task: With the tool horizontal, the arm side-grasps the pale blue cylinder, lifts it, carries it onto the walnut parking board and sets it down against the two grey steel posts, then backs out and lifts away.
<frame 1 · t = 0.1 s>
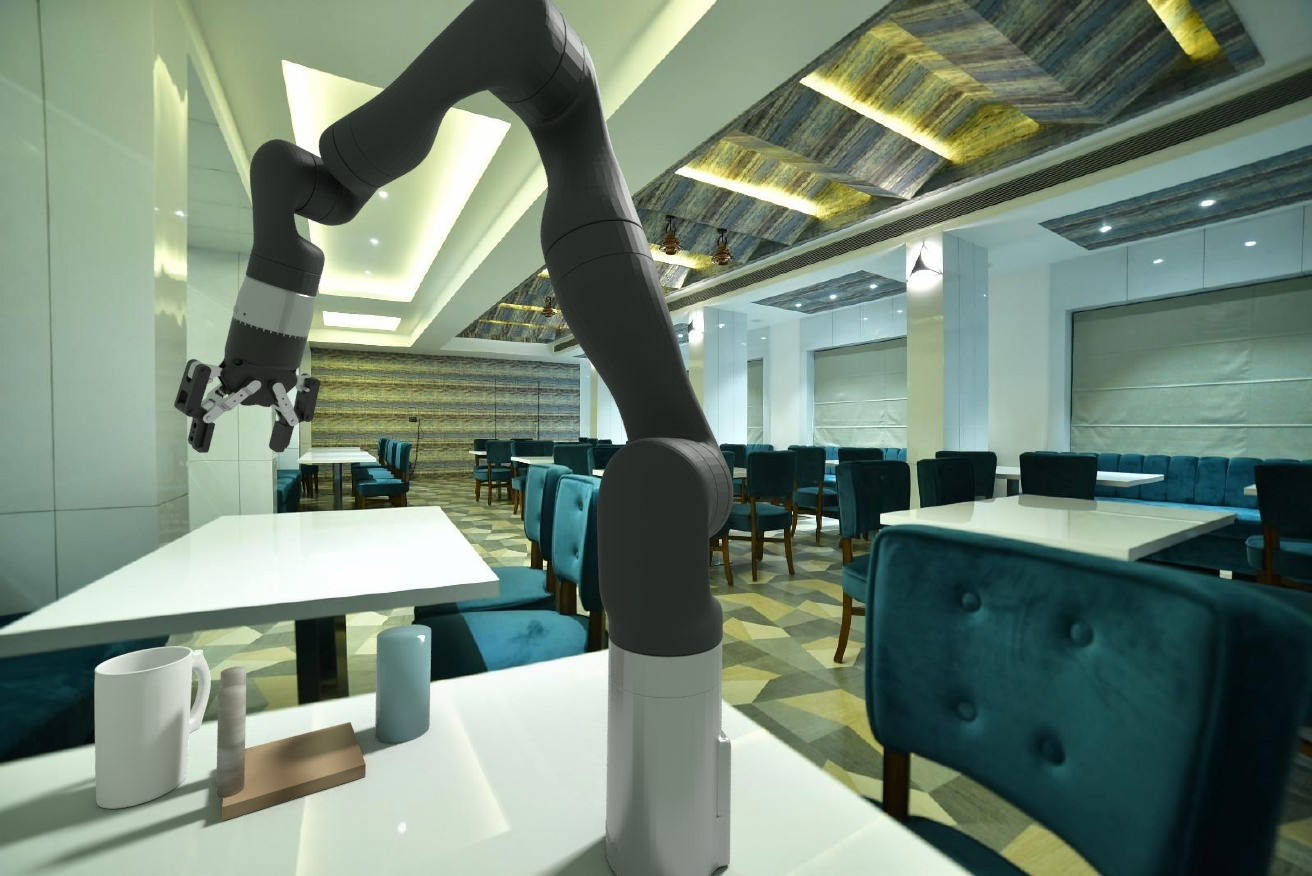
hand: (240, 450, 68), 31 cm above the table, tool tilted 20°, fingers open, 8 cm apart
pale blue cylinder: (402, 730, 63), on the table
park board: (294, 771, 55), on the table
mug: (160, 779, 53), on the table
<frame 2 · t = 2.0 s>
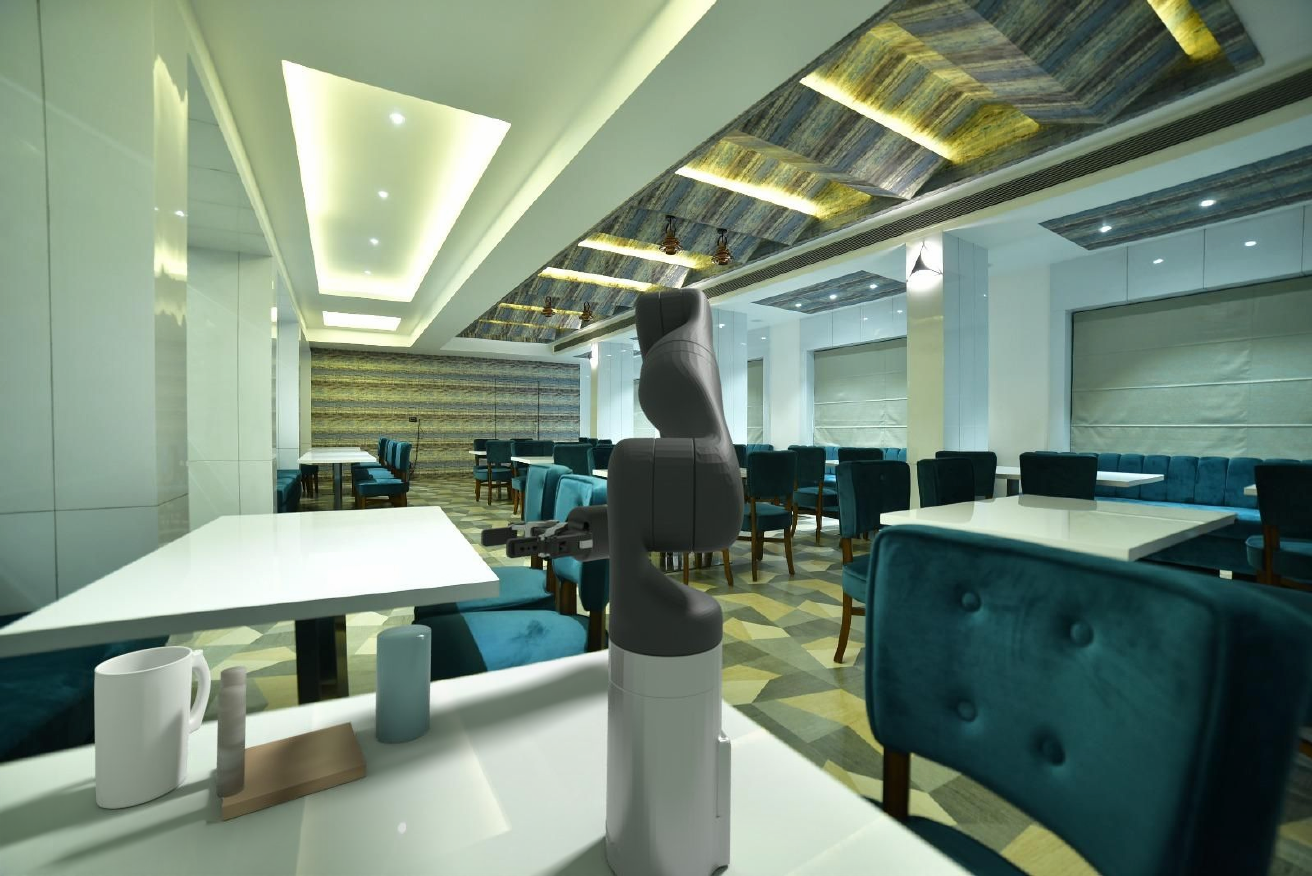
hand: (494, 543, 69), 20 cm above the table, tool horizontal, fingers open, 8 cm apart
nothing on the table moved.
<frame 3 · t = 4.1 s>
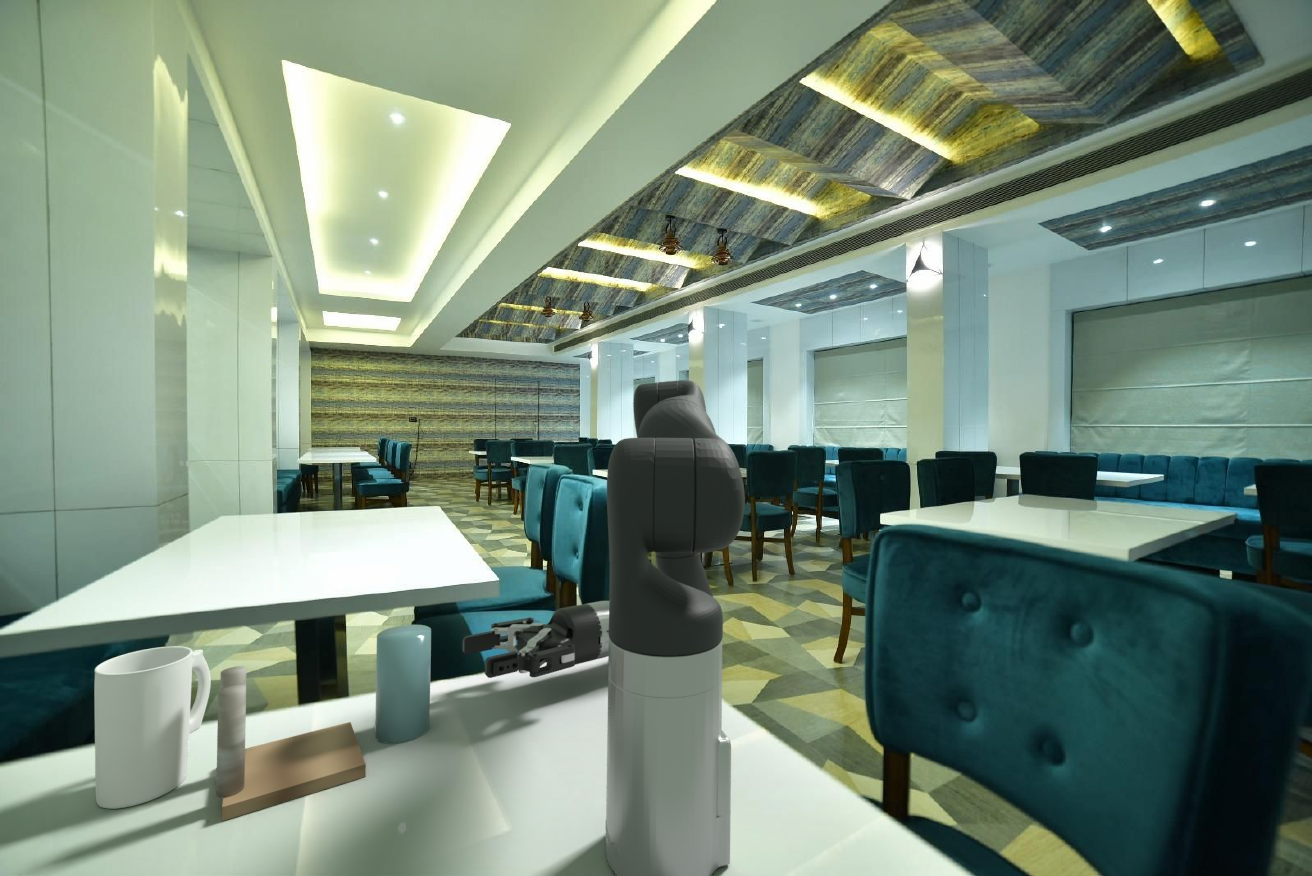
hand: (474, 656, 68), 7 cm above the table, tool horizontal, fingers open, 8 cm apart
nothing on the table moved.
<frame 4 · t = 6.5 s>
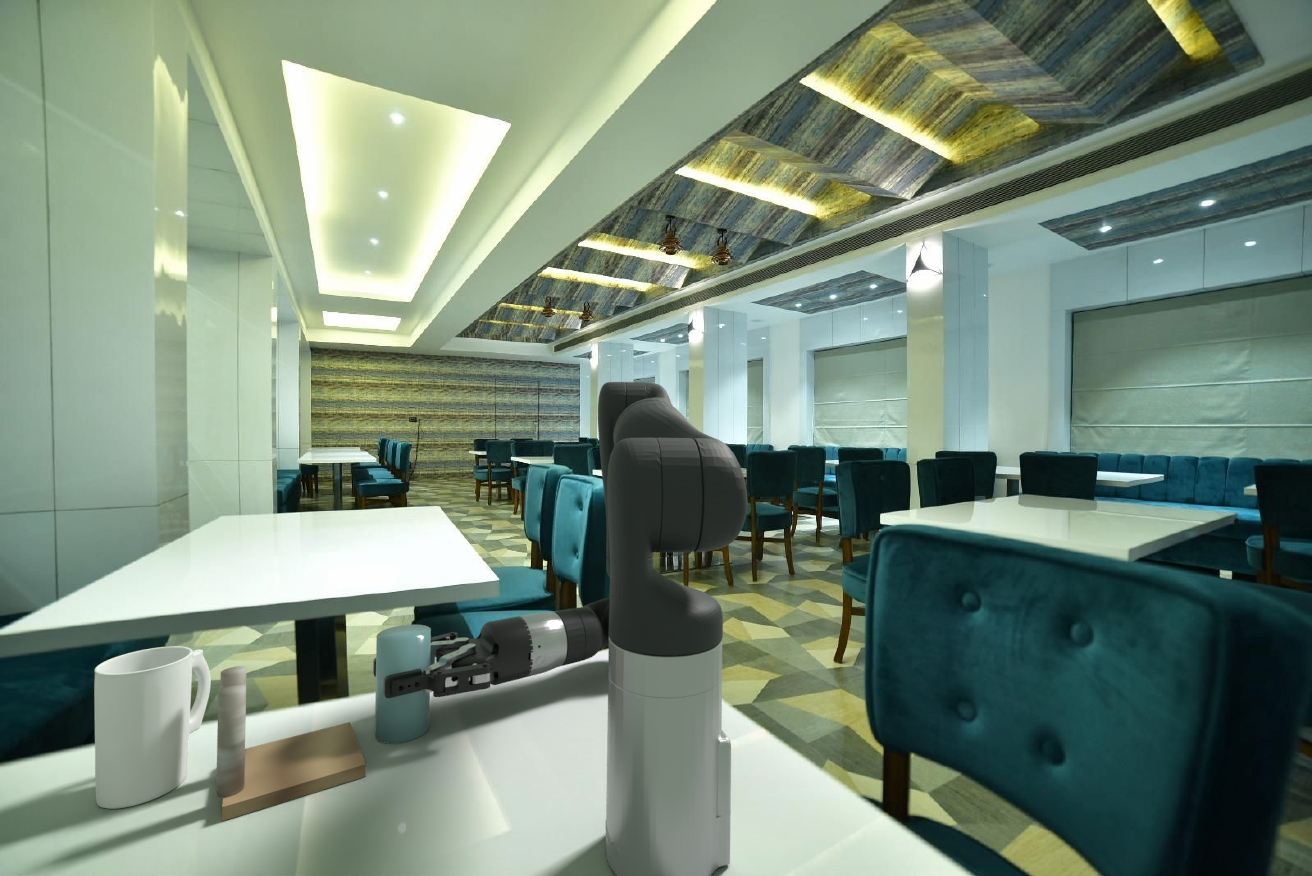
hand: (379, 677, 61), 7 cm above the table, tool horizontal, fingers closed on pale blue cylinder, 5 cm apart
pale blue cylinder: (402, 730, 63), on the table, touching gripper
everything else where it was.
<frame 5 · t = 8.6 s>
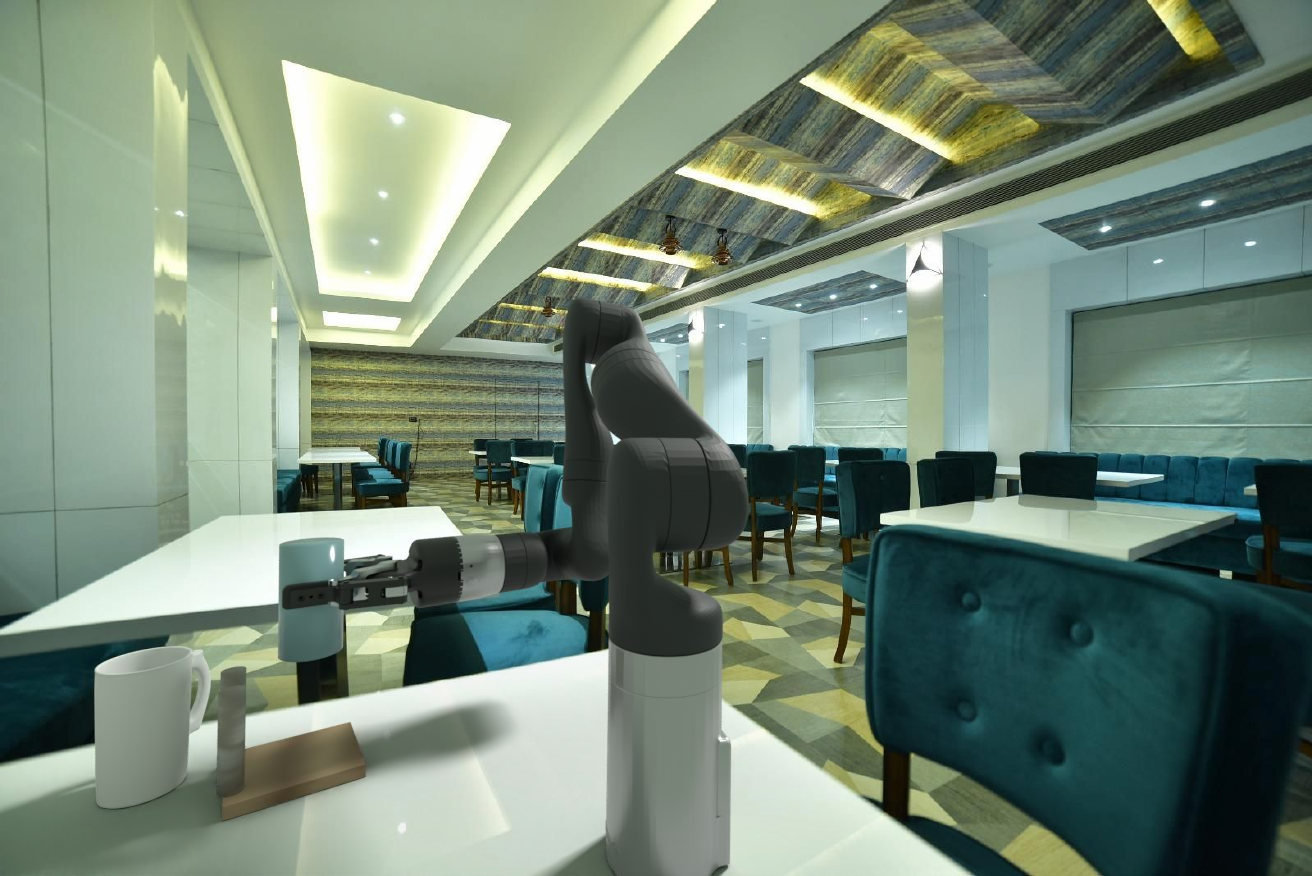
hand: (282, 590, 55), 18 cm above the table, tool horizontal, fingers closed on pale blue cylinder, 5 cm apart
pale blue cylinder: (311, 651, 56), point 11 cm above the table, touching gripper
everything else where it was.
when the fingers open (9 cm above the table, at t = 10.9 s): pale blue cylinder drops 1 cm, resting on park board.
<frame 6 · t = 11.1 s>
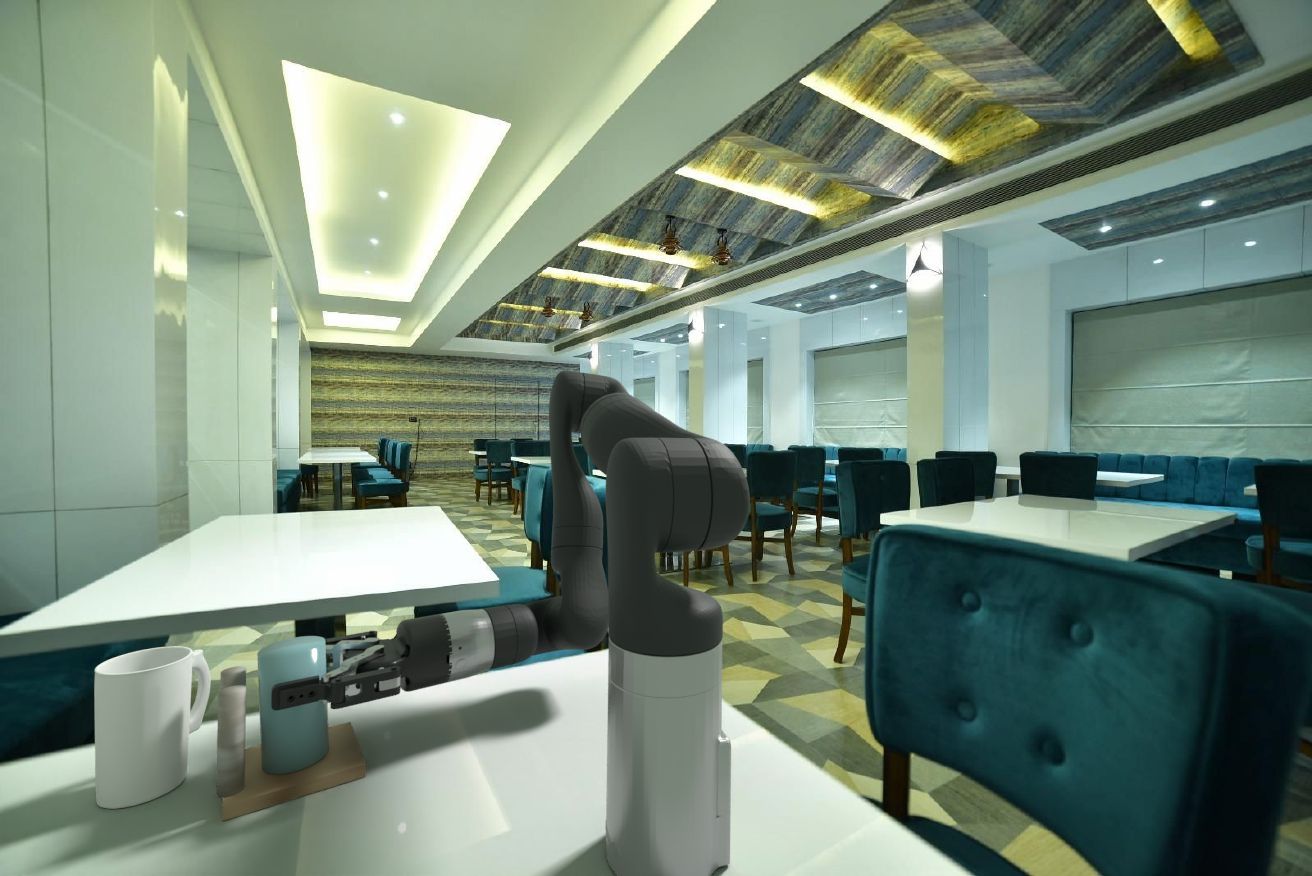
hand: (270, 682, 54), 9 cm above the table, tool horizontal, fingers open, 7 cm apart
pale blue cylinder: (296, 756, 55), point 1 cm above the table, touching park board
everything else where it was.
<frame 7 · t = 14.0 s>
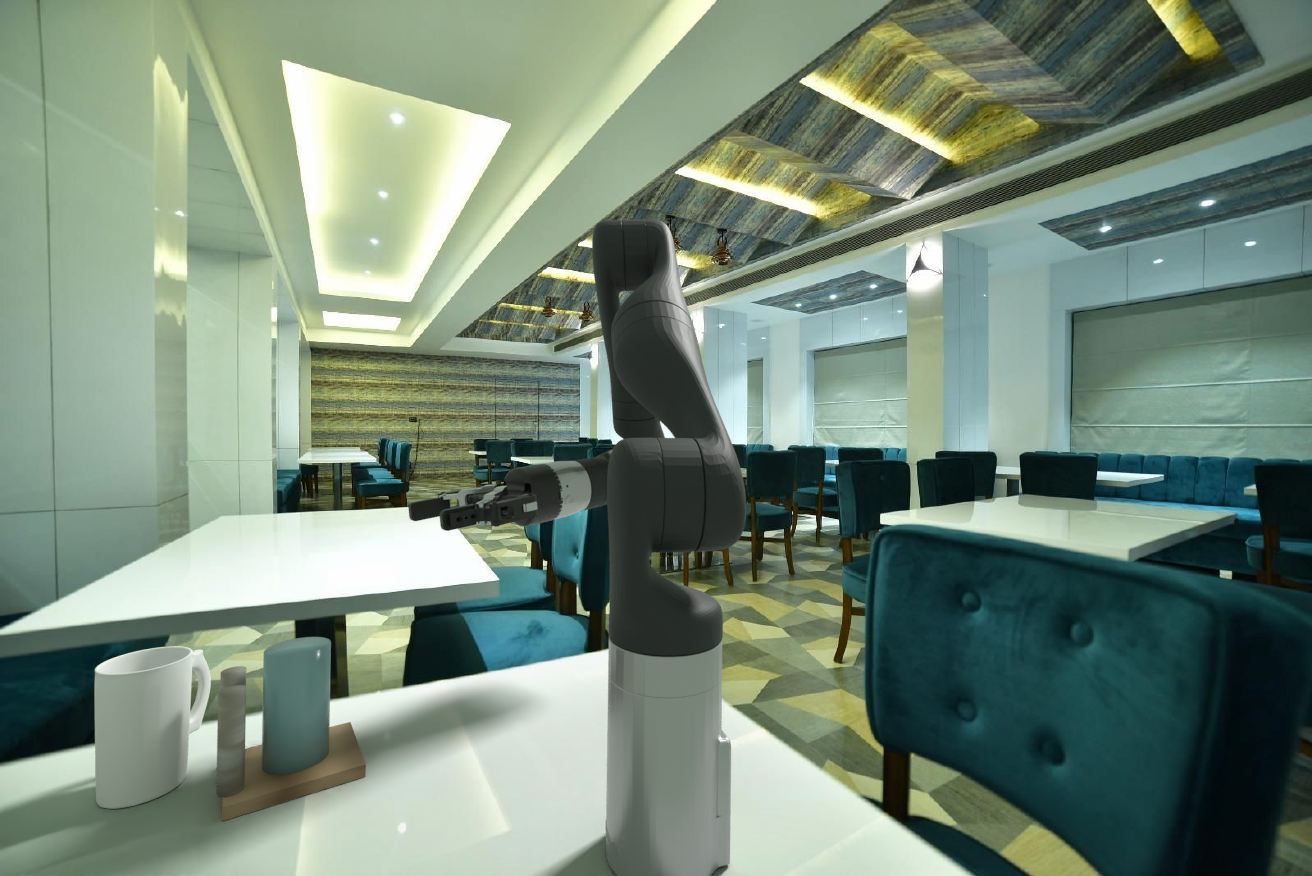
hand: (425, 516, 61), 24 cm above the table, tool horizontal, fingers open, 8 cm apart
nothing on the table moved.
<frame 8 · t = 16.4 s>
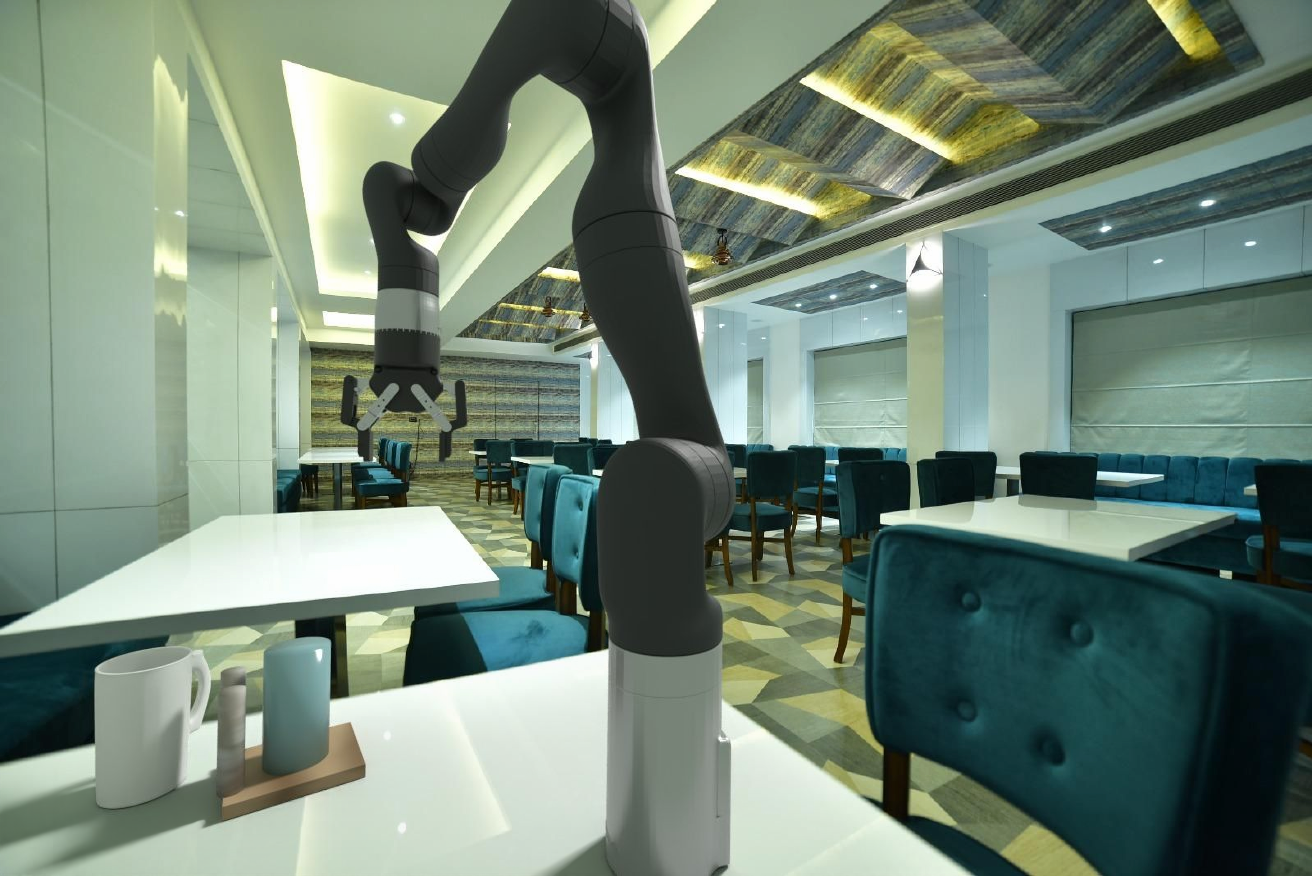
hand: (406, 462, 69), 30 cm above the table, tool pointing down, fingers open, 8 cm apart
nothing on the table moved.
at the end: pale blue cylinder 0.1 cm from the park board (horizontally); pale blue cylinder tilted 0°; pale blue cylinder point 1.2 cm above the table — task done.
